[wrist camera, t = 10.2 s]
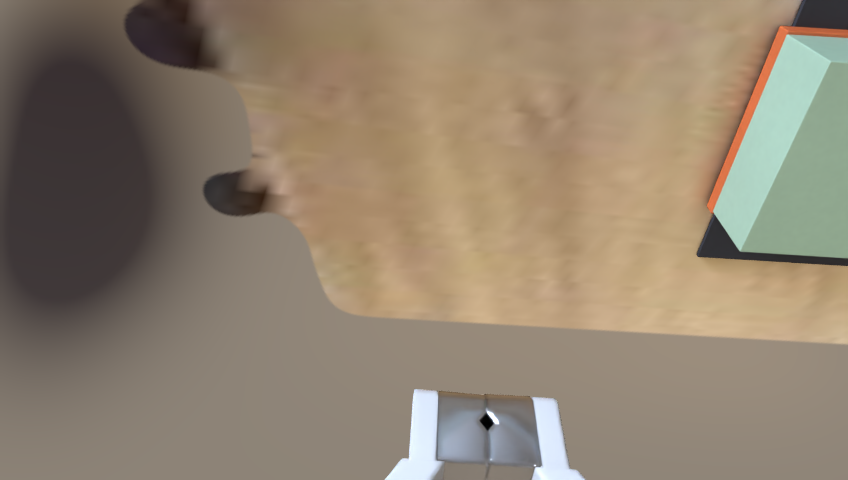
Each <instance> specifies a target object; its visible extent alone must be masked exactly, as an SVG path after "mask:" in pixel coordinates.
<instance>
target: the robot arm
mask: <svg viewBox="0 0 848 480" xmlns="http://www.w3.org/2000/svg"><path fill="white" fill-rule="evenodd" d="M385 480H586V479H585V478H584V477H583V476H582V475H581V473H580V472H579V471H578V470H573V469H570V465H569V459H568V454H567V449H566V444H565V438H564V433H563V428H562V422H561V417H560V412H559V406H558V402H557V401H556V399H555V398H539V397H530V396H513V395H493V394H484V395H478V394H467V393H456V392H445V391H439V392H438V391H433V390H419V389H415V390H414V395H413V408H412V423H411V436H410V451H409V459H401V460H400V462H399V463H398V464H397V465H396V467H395V468H394V469H393V471H392V472H391V473H390V474H389V476H388V477H387V478H386V479H385Z"/></svg>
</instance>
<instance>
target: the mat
mask: <svg viewBox="0 0 848 480" xmlns="http://www.w3.org/2000/svg"><path fill="white" fill-rule="evenodd" d="M792 27H808V28H825V29H841V30H848V0H803V1H802V3H801V6H800V8H799V11H798V13H797V15H796V18H795V20H794V23H793V25H792ZM697 256H698V257H709V258H725V259H742V260H758V261H775V262H791V263H808V264H824V265H841V266H848V258H835V257H819V256H803V255H787V254H771V253H755V252H740V251H739V249H738V248H737V247H736V245H735V244H734V242H733V241H732V239H731V238H730V236H729V235H728V233H727V232H726V230H725V229H724V227H723V226H722V224H721V223H720V221H719V220H718V218H717V217H716V216H715V214H713V217H712V219H711V222H710V224H709V226H708V229H707V231H706V233H705V236H704V238H703V241H702V243H701V245H700V248H699V250H698V253H697Z"/></svg>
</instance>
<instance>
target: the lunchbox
mask: <svg viewBox="0 0 848 480" xmlns="http://www.w3.org/2000/svg"><path fill="white" fill-rule="evenodd" d="M707 207H708V209H709V210H710V212H711V213H712V214H715V216H716V217H717V218H718V220H719V221H720V223H721V224H722V226H723V227H724V229H725V230H726V232H727V233H728V235H729V236H730V238H731V239H732V241H733V242H734V244H735V245H736V247H737V248H738V249H739V251H740V252H755V253H771V254H787V255H803V256H819V257H835V258H848V30H841V29H825V28H808V27H792V26H780V27H779V30H778V32H777V35H776V37H775V40H774V42H773V45H772V47H771V49H770V52H769V54H768V57H767V59H766V62H765V64H764V67H763V69H762V72H761V74H760V76H759V79H758V81H757V84H756V86H755V89H754V91H753V94H752V96H751V99H750V101H749V103H748V106H747V108H746V111H745V113H744V116H743V118H742V121H741V123H740V126H739V128H738V130H737V133H736V135H735V138H734V140H733V143H732V145H731V148H730V150H729V153H728V155H727V157H726V160H725V162H724V165H723V167H722V170H721V172H720V175H719V177H718V180H717V182H716V184H715V187H714V189H713V192H712V194H711V197H710V199H709V202H708V204H707Z"/></svg>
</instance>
